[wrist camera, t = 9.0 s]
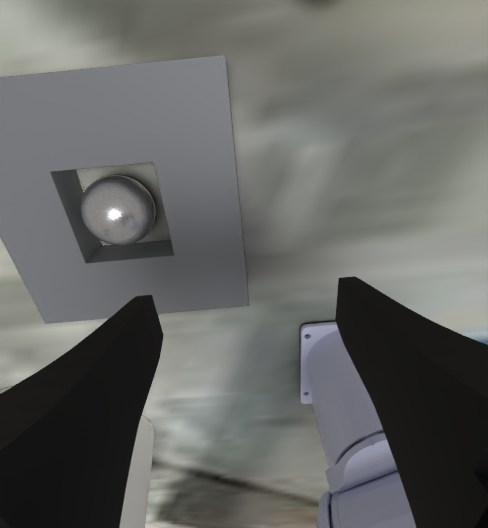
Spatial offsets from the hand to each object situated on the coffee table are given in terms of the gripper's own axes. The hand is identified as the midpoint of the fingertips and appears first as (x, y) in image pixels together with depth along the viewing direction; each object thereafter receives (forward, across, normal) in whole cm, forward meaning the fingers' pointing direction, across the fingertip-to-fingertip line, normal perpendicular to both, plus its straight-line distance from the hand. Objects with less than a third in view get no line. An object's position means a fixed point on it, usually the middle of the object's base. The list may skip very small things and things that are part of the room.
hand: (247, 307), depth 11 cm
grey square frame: (+9, +7, -2) cm, 12 cm away
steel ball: (+7, +7, -2) cm, 10 cm away
